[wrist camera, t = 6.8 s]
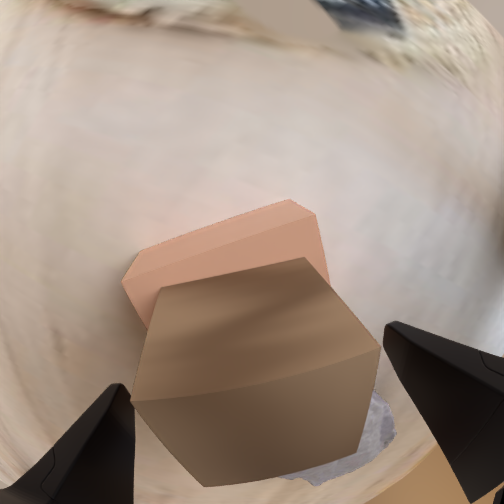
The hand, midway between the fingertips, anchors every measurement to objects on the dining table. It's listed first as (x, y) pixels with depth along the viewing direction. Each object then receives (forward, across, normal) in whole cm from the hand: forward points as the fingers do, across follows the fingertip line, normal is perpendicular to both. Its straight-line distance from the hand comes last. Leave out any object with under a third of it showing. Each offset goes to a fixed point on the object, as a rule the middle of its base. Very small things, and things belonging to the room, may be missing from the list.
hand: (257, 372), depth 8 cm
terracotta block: (+6, 0, 0) cm, 6 cm away
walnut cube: (+2, 0, 0) cm, 2 cm away
